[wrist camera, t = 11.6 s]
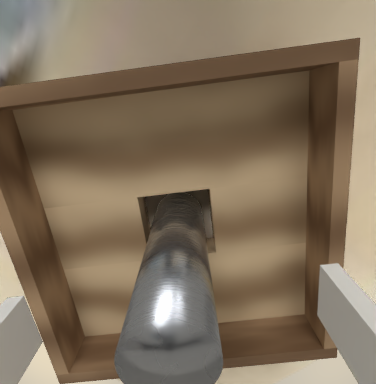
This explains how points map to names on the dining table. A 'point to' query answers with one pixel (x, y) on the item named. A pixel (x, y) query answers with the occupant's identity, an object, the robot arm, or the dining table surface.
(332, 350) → the box
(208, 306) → the peg
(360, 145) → the dining table surface
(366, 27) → the dining table surface
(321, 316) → the robot arm
